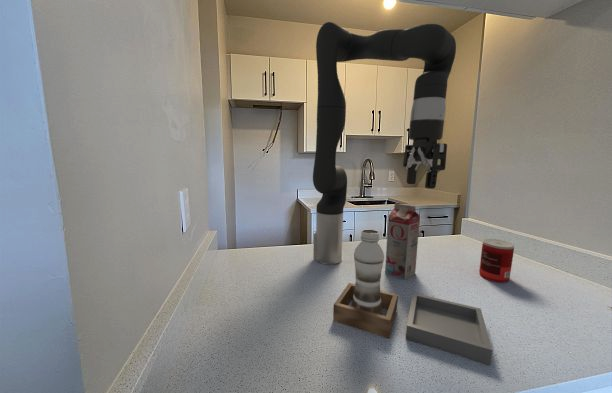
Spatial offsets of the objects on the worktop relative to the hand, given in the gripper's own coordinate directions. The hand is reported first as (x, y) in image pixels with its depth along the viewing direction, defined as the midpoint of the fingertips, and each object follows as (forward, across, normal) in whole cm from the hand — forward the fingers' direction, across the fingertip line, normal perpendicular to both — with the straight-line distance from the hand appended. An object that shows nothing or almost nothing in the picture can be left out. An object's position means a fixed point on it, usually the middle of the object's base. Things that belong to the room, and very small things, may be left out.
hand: (419, 186), depth 65 cm
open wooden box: (+29, -9, +15) cm, 34 cm away
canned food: (+29, +5, -31) cm, 43 cm away
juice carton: (+29, +11, -3) cm, 32 cm away
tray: (+29, -15, 0) cm, 33 cm away
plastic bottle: (+29, -9, +15) cm, 34 cm away
